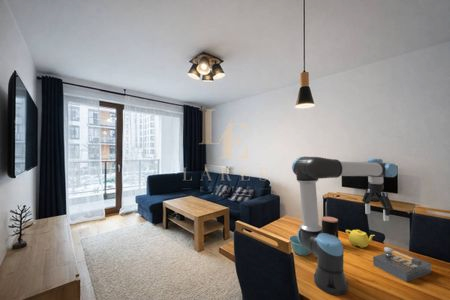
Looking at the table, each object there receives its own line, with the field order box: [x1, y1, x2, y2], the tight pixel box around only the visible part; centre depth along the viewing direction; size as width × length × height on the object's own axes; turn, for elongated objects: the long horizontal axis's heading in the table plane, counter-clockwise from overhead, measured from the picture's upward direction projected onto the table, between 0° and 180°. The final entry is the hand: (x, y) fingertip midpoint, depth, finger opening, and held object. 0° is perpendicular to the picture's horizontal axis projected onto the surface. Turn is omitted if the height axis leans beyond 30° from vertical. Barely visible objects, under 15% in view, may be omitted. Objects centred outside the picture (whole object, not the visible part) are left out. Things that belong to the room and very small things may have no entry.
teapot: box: [345, 229, 376, 249], centre depth 138 cm, size 18×11×11 cm, turn 38°
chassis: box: [372, 249, 432, 283], centre depth 110 cm, size 22×16×6 cm
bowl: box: [288, 235, 311, 257], centre depth 130 cm, size 16×16×8 cm
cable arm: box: [383, 246, 422, 266], centre depth 110 cm, size 4×17×2 cm, turn 20°
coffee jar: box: [321, 216, 339, 239], centre depth 142 cm, size 11×11×18 cm
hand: (376, 217), depth 121 cm, fingers open, 13 cm apart
